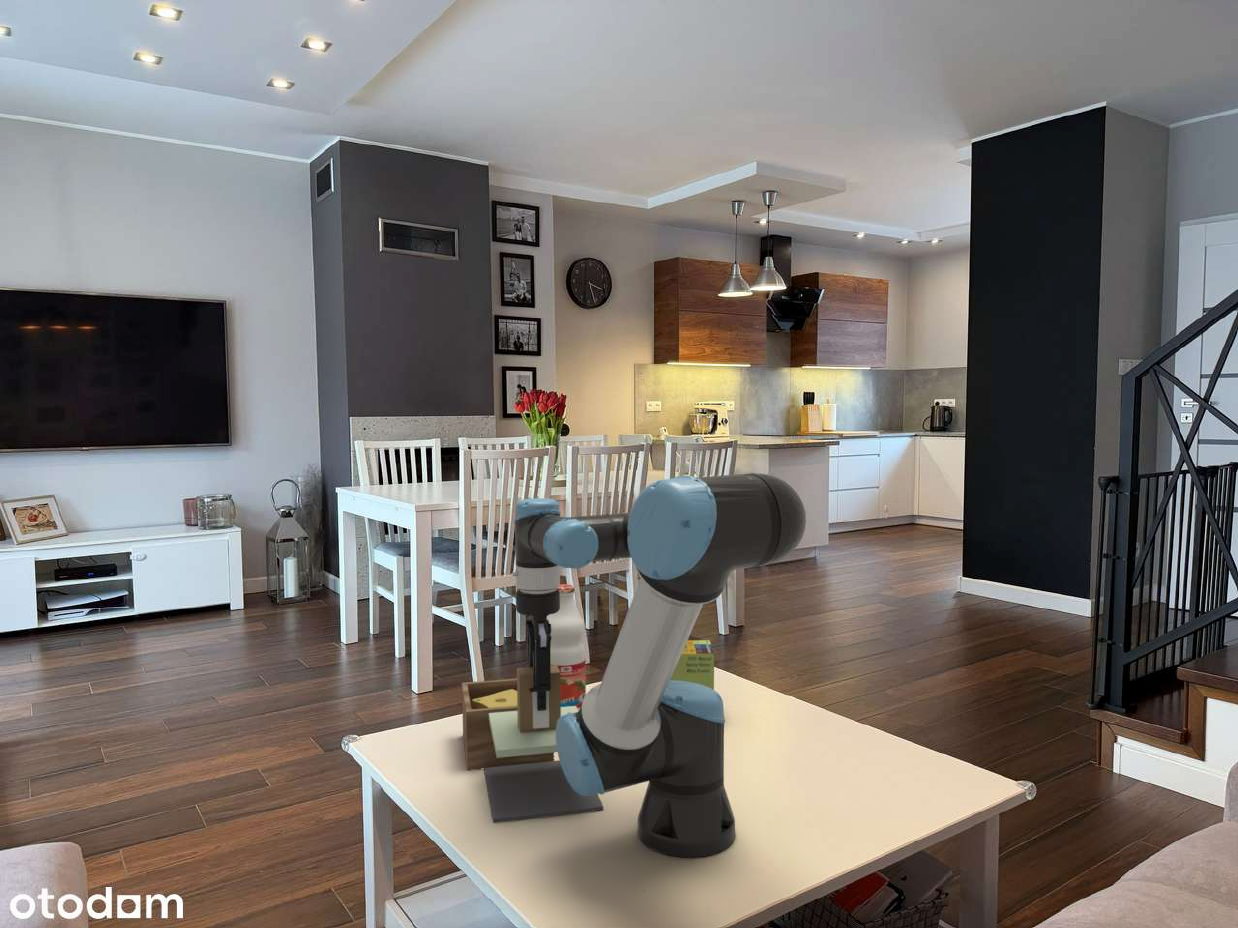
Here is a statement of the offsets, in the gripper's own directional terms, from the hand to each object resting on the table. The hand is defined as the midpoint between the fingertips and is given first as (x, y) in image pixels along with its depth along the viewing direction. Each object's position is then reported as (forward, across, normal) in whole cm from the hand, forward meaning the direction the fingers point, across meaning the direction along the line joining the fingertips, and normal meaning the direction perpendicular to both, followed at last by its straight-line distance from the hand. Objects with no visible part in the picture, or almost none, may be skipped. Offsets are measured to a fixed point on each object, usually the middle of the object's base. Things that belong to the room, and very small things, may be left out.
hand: (539, 721), depth 147 cm
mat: (+12, 0, 0) cm, 12 cm away
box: (+12, -19, -4) cm, 23 cm away
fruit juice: (+12, -35, +10) cm, 39 cm away
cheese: (+12, -19, -4) cm, 23 cm away
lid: (+2, 0, 0) cm, 2 cm away
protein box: (+12, -27, +33) cm, 45 cm away
